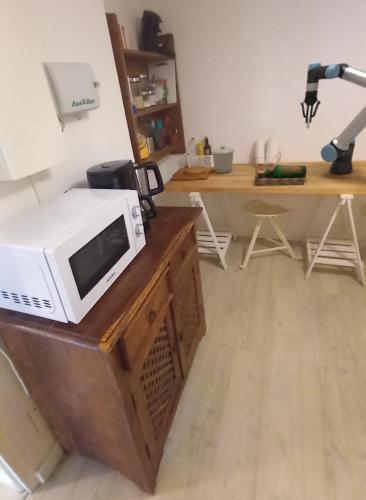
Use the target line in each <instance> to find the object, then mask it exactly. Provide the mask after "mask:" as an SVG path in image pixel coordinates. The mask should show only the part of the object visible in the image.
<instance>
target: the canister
mask: <svg viewBox="0 0 366 500" xmlns="http://www.w3.org/2000/svg"><path fill="white" fill-rule="evenodd" d="M211 153H212V159H213V165H214V166H213V167H214V170H215V171H216V172H217V173H218V174H227V173H229V172H231V171H232V169H233V163H234V162H233V161H234V153H235V149H234V148H232V147H226V145H225V144H221V145H220V147H217V148H215V149H213V150H212V151H211Z"/></svg>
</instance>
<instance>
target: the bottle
mask: <svg viewBox="0 0 366 500" xmlns="http://www.w3.org/2000/svg"><path fill="white" fill-rule="evenodd" d="M262 173H263V175H265V176H266V177H269V176H273V178H274V179H284V178H304V179H306V178H307V166H306V165H296V164H295V165H294V164H293V165H292V164H291V165H290V164H277V165H275V166H274V167H273V169H270V168H266V169H265V170H263V172H262Z"/></svg>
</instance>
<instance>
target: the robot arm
mask: <svg viewBox="0 0 366 500" xmlns="http://www.w3.org/2000/svg"><path fill="white" fill-rule="evenodd" d="M306 75H307V76H306V86H305V93H304V95H305V96H304V99H303V101H301V102H300V104H299V105H300V106H301V110H302V111H301V112H302V117H303V118H305V124H306V127H305V128H306V129H310V124H311V123H312V118H315V117H316V114H317V111H318V109H319V105H320V104H321V102H322V101H320V100H319V98H318V93H319V92H318V89H319V82H320V81H321V80H333V79H337V78H338V79H340V80H343V81H346V82H349V83H352V84H353V85H356V86H359V87H361V88H365V89H366V70H365V71H364V70H362V69H359V68H356V67H352V66H350V65H349V64H348V63H346V62H342V63H336V64H329V65H328V64H327V65H322V63H321V62H314V63H309V64H308V66H307V74H306ZM315 104H316V105H315ZM305 105H306V110H305ZM314 105H315V106H314ZM309 110H310V111H309ZM305 111H306V112H305ZM365 128H366V105H365V106H364V107H363V108H362V109H361V110H360V112H359V113H357V115H356V116H355V117H354V118H353V119H352V121H351V122H349V124H348V125H347V126H346V127H345V128H344V129H343V130H342V131H341V133H340V134H339V135H338V136H336V137H334V138H333V139H331V141H330V142H329V143H328V144H325V145H323V147H322V148H321V149H320V157H321V159H322V161H324V162H326V163H331V164H330V166H329V169H328V172H329V173H331V174H334V175H335V174H336V175H347V174H348V175H349V174H352V173H353V170H354V167H353V156H354V152H355V151H354V150H355V146H356V138H357V137H358V136H359V135H360V134H361V132H362V131H364V129H365Z"/></svg>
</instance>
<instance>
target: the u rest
mask: <svg viewBox="0 0 366 500" xmlns="http://www.w3.org/2000/svg"><path fill="white" fill-rule="evenodd" d="M254 173H255V174H254V186H255V187H256V186H259V187H260V186H261V187H263V186H266V187H267V186H304V185H305V178H284V179H274V178H273V176H269V177H266V176H265V175H263V173H264V172H259V169H256V170H255V172H254Z"/></svg>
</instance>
